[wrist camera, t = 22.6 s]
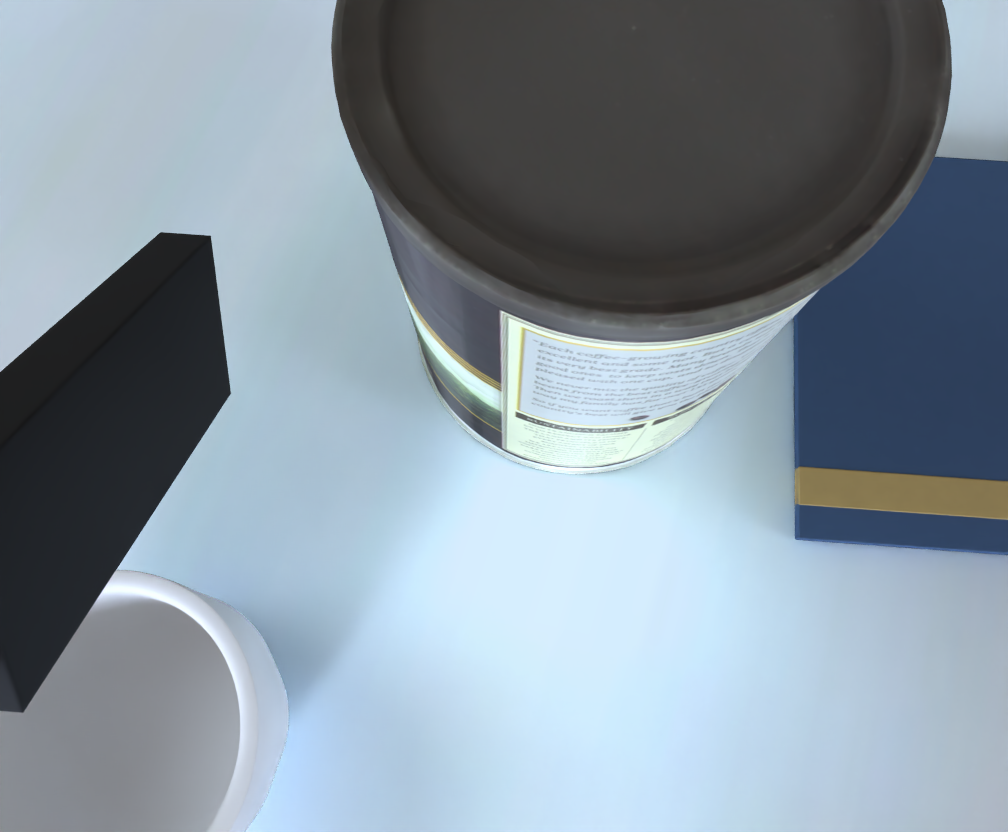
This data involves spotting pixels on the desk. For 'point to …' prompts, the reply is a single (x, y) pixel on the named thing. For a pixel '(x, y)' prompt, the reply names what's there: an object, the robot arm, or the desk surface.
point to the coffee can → (627, 192)
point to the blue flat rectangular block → (911, 377)
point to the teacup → (148, 720)
